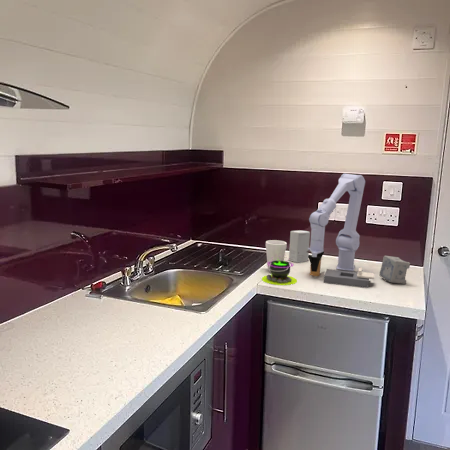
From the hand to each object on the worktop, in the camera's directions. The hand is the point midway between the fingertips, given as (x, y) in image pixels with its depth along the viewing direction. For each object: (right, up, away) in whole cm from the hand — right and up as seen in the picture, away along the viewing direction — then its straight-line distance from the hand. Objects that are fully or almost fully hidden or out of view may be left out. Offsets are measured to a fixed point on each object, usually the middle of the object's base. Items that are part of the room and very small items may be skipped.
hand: (315, 269), depth 208 cm
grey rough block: (+32, -5, -6) cm, 33 cm away
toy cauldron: (-17, -4, -9) cm, 20 cm away
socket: (+12, -4, -8) cm, 15 cm away
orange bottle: (0, -2, +1) cm, 2 cm away
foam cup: (-17, -1, +5) cm, 18 cm away
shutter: (+19, -2, -12) cm, 22 cm away
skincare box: (-4, +2, +24) cm, 24 cm away
